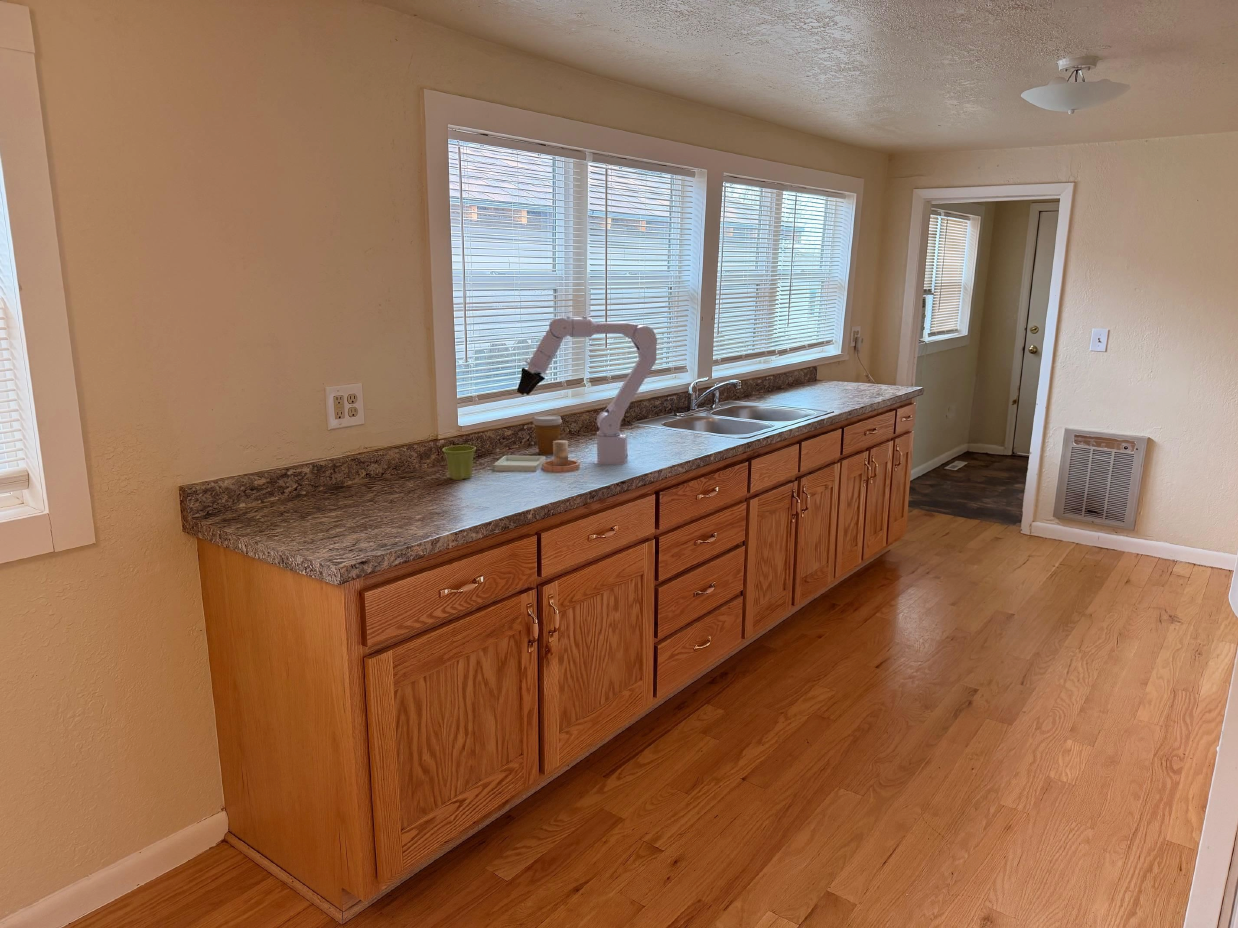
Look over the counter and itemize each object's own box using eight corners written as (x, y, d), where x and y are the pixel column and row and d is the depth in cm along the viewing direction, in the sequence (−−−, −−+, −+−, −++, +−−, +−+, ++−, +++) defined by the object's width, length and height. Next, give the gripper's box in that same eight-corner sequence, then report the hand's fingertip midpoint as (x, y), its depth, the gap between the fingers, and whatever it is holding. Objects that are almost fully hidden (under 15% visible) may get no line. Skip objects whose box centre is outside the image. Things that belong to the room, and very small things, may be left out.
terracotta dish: (582, 466, 261) (582, 459, 260) (576, 473, 250) (575, 467, 250) (546, 465, 262) (546, 459, 262) (539, 473, 251) (539, 466, 251)
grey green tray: (545, 463, 265) (545, 456, 265) (536, 472, 252) (536, 465, 251) (505, 462, 267) (504, 455, 267) (493, 472, 253) (493, 464, 253)
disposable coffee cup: (564, 450, 285) (564, 414, 283) (560, 456, 276) (559, 419, 274) (536, 450, 286) (535, 414, 284) (531, 455, 277) (530, 419, 275)
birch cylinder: (569, 466, 258) (568, 440, 256) (566, 469, 253) (566, 443, 252) (555, 466, 258) (554, 440, 257) (552, 469, 254) (551, 443, 252)
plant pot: (470, 482, 241) (468, 451, 239) (438, 480, 243) (437, 450, 241) (481, 474, 250) (480, 445, 248) (451, 473, 252) (450, 444, 250)
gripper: (537, 348, 263) (516, 387, 264) (528, 345, 249) (505, 386, 250) (557, 360, 263) (535, 398, 264) (549, 358, 248) (526, 398, 250)
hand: (522, 393), depth 257 cm, fingers open, 7 cm apart
